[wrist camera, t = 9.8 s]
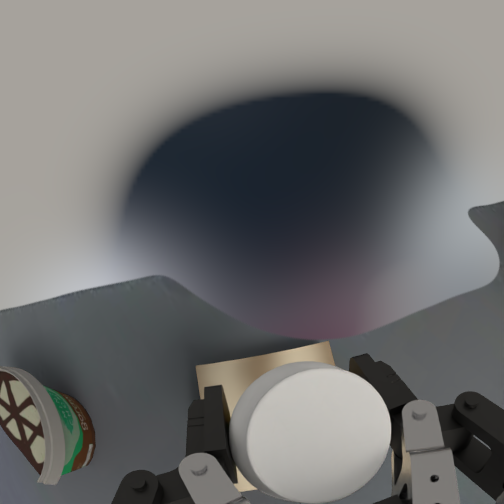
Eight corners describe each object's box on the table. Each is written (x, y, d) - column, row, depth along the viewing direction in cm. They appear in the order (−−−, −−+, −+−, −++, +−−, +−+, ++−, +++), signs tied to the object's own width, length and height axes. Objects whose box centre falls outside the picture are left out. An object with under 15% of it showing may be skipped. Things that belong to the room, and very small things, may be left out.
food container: (128, 437, 25) (77, 440, 16) (98, 475, 23) (42, 487, 14) (54, 359, 29) (-3, 333, 20) (28, 395, 26) (-31, 379, 18)
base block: (322, 347, 30) (328, 340, 27) (348, 460, 24) (357, 464, 21) (201, 370, 29) (195, 365, 26) (222, 486, 23) (218, 494, 20)
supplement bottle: (218, 420, 16) (175, 423, 7) (293, 362, 17) (329, 303, 9) (280, 488, 13) (305, 558, 5) (354, 427, 15) (446, 428, 7)
